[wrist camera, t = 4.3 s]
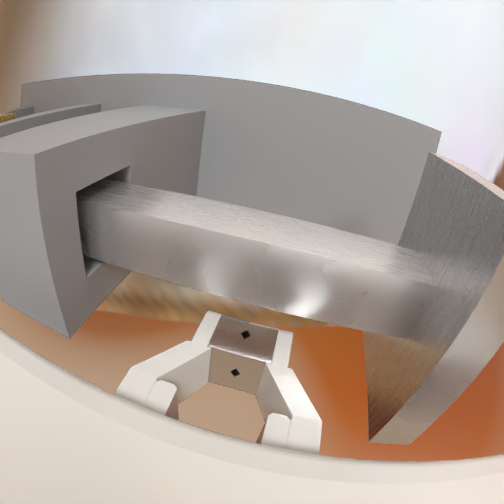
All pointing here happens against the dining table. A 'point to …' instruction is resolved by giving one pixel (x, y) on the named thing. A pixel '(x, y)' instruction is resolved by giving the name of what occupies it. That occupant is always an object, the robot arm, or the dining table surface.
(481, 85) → the dining table surface
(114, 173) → the bearing base
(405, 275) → the shaft
